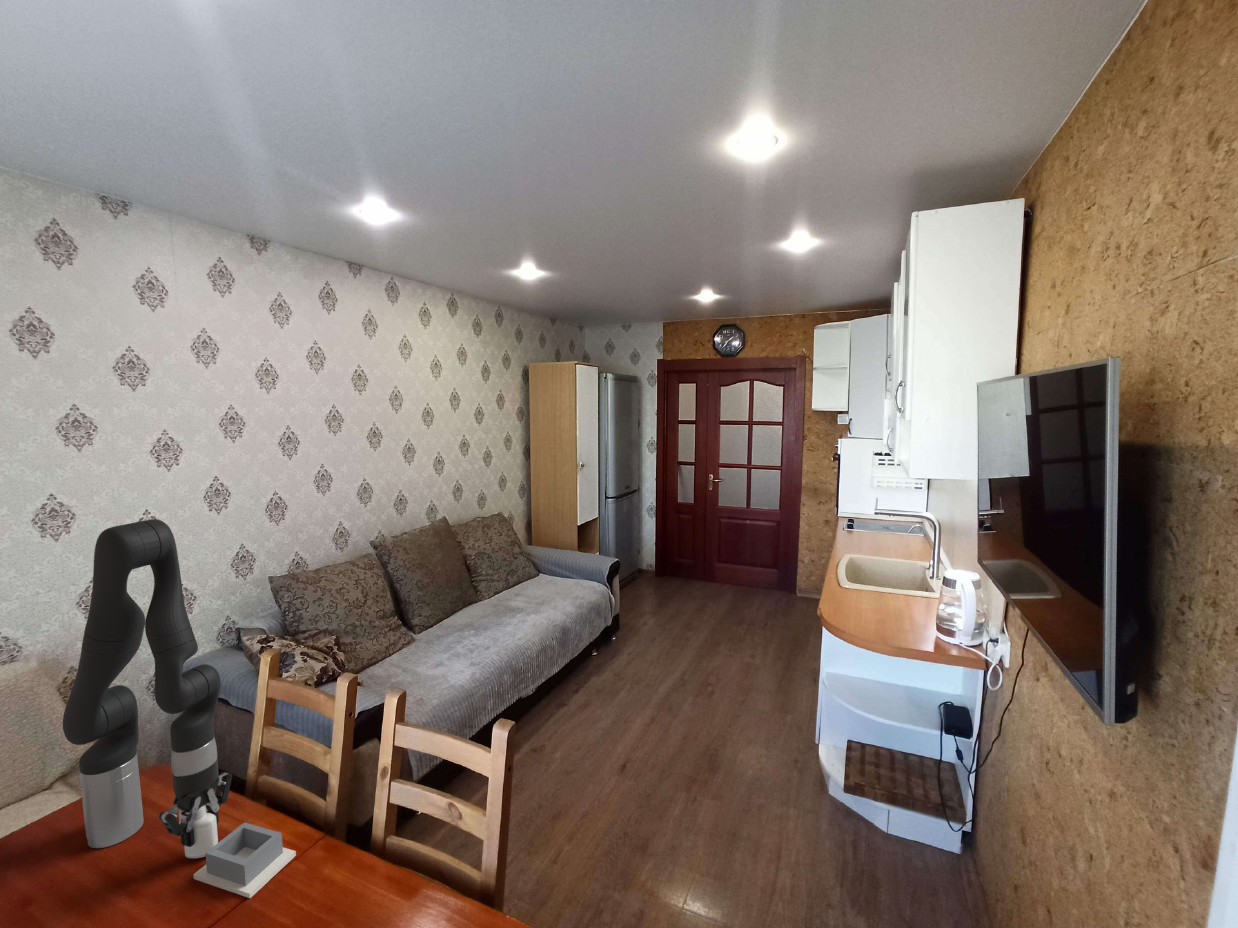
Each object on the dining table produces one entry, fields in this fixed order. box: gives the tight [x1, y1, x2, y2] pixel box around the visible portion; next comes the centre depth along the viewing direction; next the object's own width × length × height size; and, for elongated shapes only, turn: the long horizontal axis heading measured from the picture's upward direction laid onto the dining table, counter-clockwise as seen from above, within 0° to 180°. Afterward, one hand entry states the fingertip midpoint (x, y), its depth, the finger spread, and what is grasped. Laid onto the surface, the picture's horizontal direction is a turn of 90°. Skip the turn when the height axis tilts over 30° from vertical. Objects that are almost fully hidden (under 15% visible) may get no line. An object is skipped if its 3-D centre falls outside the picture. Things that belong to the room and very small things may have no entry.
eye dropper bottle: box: [183, 805, 219, 859], centre depth 114 cm, size 4×6×12 cm
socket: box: [193, 822, 297, 899], centre depth 112 cm, size 15×10×6 cm
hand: (200, 835), depth 114 cm, fingers closed on eye dropper bottle, 4 cm apart
